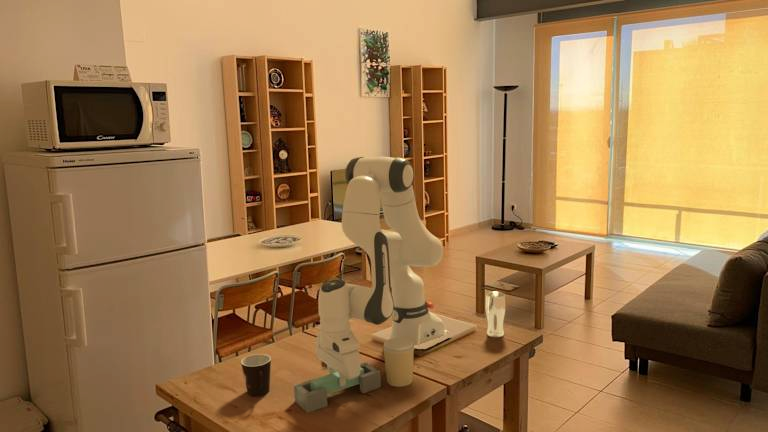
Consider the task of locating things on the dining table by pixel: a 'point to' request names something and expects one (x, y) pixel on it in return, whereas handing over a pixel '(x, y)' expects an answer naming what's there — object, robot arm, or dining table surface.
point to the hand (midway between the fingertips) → (337, 381)
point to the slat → (333, 382)
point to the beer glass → (495, 313)
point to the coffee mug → (257, 374)
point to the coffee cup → (399, 361)
